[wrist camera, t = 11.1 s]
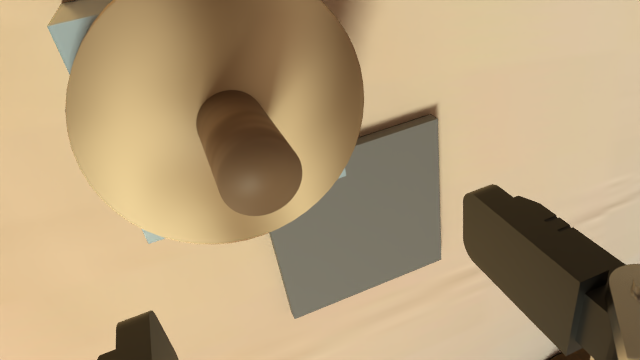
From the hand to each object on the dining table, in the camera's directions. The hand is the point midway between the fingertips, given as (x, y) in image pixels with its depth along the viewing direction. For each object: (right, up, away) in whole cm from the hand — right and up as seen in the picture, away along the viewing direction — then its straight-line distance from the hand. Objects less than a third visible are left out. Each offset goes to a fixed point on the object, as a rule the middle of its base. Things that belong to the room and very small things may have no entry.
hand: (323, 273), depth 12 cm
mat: (+2, 0, +21) cm, 21 cm away
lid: (-4, +5, +9) cm, 11 cm away
